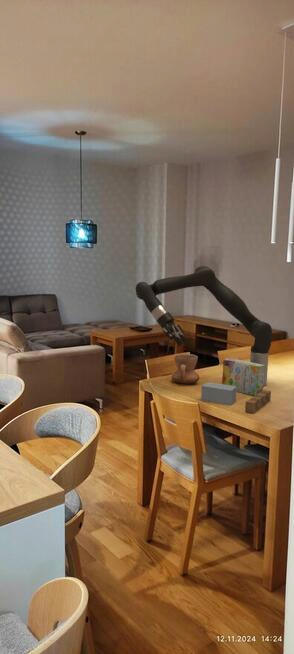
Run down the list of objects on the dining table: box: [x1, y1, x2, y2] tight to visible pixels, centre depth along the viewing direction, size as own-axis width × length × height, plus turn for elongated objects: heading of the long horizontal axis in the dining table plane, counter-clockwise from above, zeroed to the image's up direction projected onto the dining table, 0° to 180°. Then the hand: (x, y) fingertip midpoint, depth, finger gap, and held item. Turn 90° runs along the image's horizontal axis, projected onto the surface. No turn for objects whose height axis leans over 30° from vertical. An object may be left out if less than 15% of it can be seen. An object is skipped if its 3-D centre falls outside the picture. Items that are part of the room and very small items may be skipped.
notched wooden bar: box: [244, 389, 272, 415], centre depth 211 cm, size 24×4×4 cm, turn 148°
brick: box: [200, 381, 237, 406], centre depth 218 cm, size 8×14×7 cm, turn 63°
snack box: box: [221, 357, 265, 397], centre depth 234 cm, size 21×6×15 cm, turn 44°
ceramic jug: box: [171, 353, 200, 385], centre depth 247 cm, size 18×14×14 cm
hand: (183, 343), depth 225 cm, fingers open, 5 cm apart
